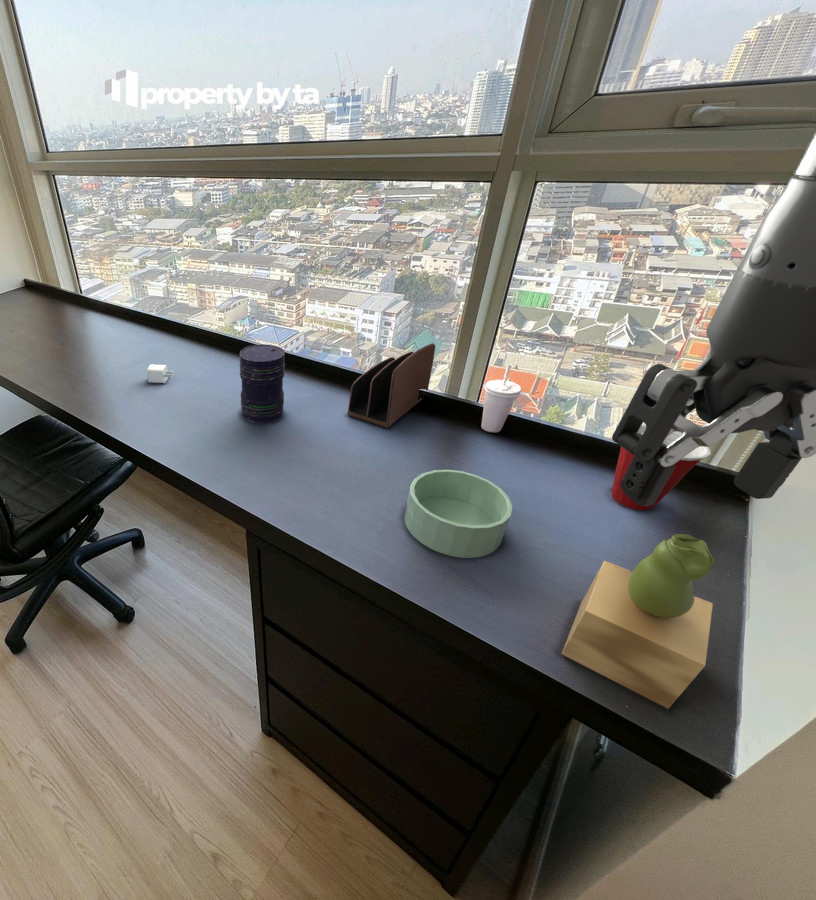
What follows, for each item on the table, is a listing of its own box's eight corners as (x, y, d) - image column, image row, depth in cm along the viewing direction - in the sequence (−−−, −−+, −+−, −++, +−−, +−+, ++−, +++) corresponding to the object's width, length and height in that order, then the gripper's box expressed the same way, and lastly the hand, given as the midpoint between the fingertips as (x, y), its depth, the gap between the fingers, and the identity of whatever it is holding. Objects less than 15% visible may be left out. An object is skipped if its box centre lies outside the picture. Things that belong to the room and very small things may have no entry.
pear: (616, 581, 56) (654, 517, 51) (674, 597, 54) (720, 531, 49) (623, 617, 52) (665, 551, 47) (686, 636, 50) (737, 569, 45)
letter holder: (427, 396, 114) (439, 339, 107) (387, 429, 103) (397, 368, 95) (388, 385, 120) (396, 330, 113) (346, 415, 109) (352, 356, 101)
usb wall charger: (153, 377, 132) (151, 363, 130) (177, 378, 131) (175, 364, 129) (148, 383, 129) (146, 369, 127) (173, 384, 128) (171, 370, 125)
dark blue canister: (253, 427, 106) (252, 365, 98) (233, 409, 114) (231, 349, 106) (291, 416, 109) (293, 355, 101) (270, 399, 117) (270, 341, 109)
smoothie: (507, 423, 102) (527, 361, 94) (508, 438, 97) (529, 374, 90) (474, 418, 104) (491, 357, 97) (473, 432, 100) (491, 370, 92)
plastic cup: (682, 499, 79) (719, 437, 73) (665, 530, 74) (704, 466, 67) (604, 472, 86) (632, 413, 80) (583, 499, 81) (612, 438, 74)
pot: (523, 542, 73) (535, 512, 70) (446, 569, 70) (455, 538, 66) (455, 489, 84) (463, 462, 81) (386, 510, 81) (391, 481, 78)
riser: (679, 647, 58) (713, 603, 53) (668, 709, 52) (705, 665, 47) (581, 603, 64) (604, 560, 59) (561, 654, 58) (585, 610, 53)
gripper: (774, 294, 24) (636, 536, 33) (1062, 276, 24) (845, 523, 32) (652, 262, 30) (564, 472, 39) (880, 247, 30) (740, 461, 39)
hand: (692, 495), depth 36 cm, fingers open, 8 cm apart
